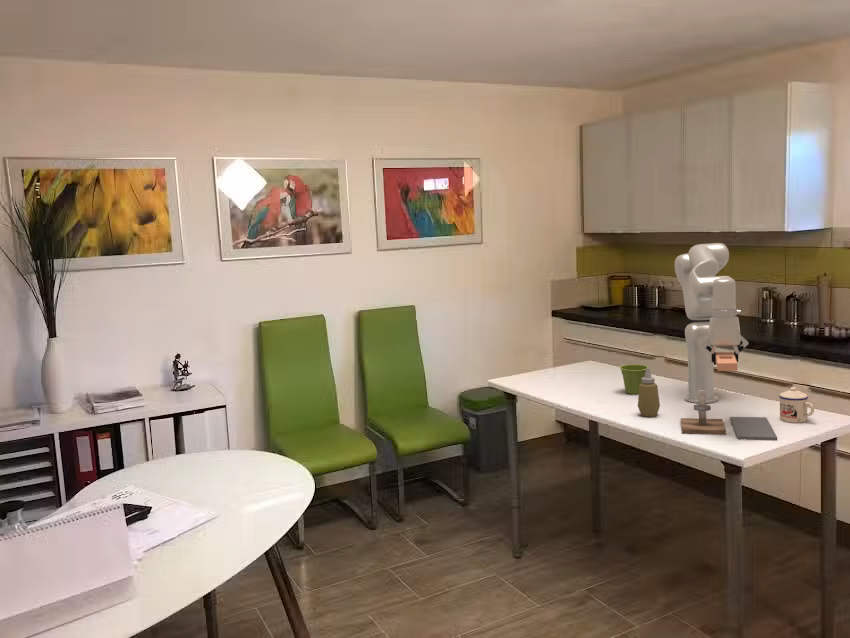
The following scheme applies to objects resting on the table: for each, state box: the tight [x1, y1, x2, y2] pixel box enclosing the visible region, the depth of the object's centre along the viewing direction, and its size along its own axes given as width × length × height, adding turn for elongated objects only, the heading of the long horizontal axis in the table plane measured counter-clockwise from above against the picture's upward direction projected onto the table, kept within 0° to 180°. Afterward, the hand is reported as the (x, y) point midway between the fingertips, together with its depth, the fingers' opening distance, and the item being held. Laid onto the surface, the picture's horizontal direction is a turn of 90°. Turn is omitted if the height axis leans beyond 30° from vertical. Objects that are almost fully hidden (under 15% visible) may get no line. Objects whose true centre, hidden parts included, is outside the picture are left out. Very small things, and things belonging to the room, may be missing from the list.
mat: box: [729, 416, 778, 441], centre depth 244 cm, size 24×12×1 cm, turn 162°
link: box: [715, 351, 738, 372], centre depth 244 cm, size 20×6×2 cm, turn 160°
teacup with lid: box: [778, 386, 815, 424], centre depth 250 cm, size 12×9×12 cm
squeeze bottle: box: [637, 368, 661, 418], centre depth 269 cm, size 8×8×18 cm
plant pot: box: [619, 363, 650, 395], centre depth 304 cm, size 12×12×11 cm
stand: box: [680, 390, 727, 436], centre depth 248 cm, size 14×14×14 cm
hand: (724, 363), depth 250 cm, fingers closed on link, 5 cm apart
